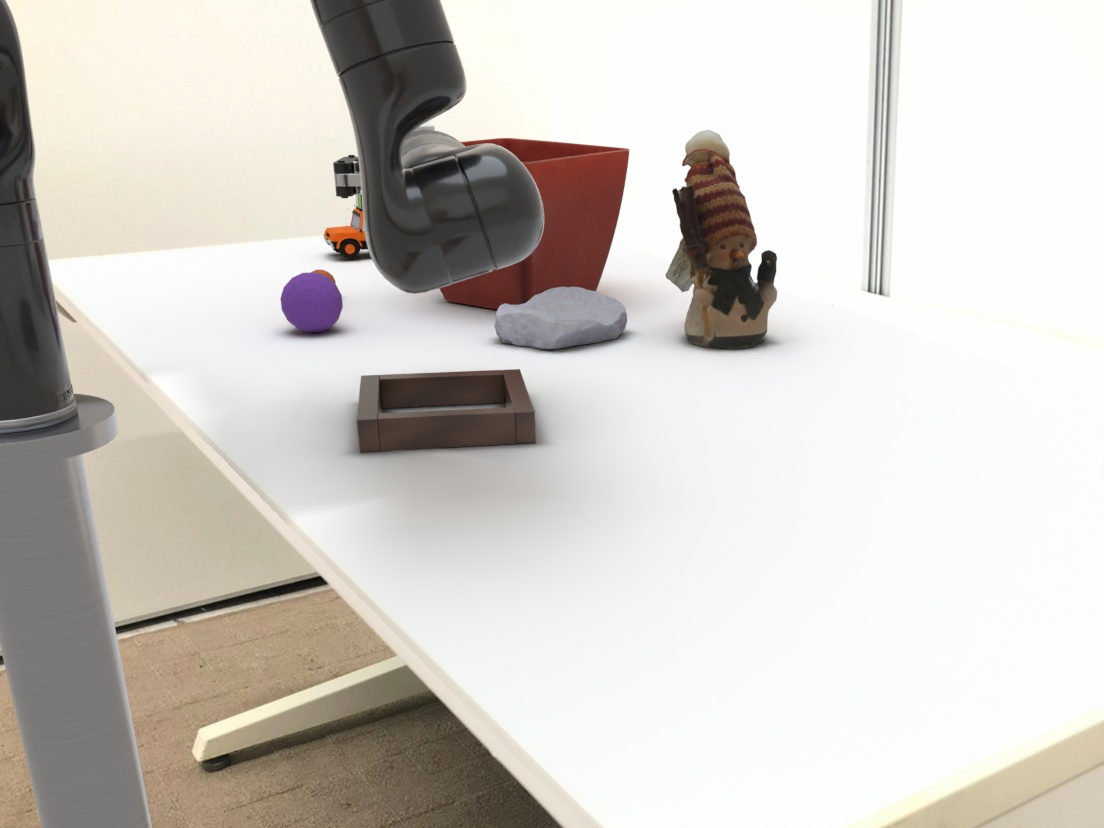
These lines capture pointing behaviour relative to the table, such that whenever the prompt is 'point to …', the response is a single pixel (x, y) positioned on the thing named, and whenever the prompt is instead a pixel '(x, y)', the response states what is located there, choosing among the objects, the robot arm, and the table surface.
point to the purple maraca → (312, 301)
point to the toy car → (349, 234)
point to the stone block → (561, 319)
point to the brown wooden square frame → (445, 424)
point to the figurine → (719, 252)
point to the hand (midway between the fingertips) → (419, 166)
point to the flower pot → (557, 222)
